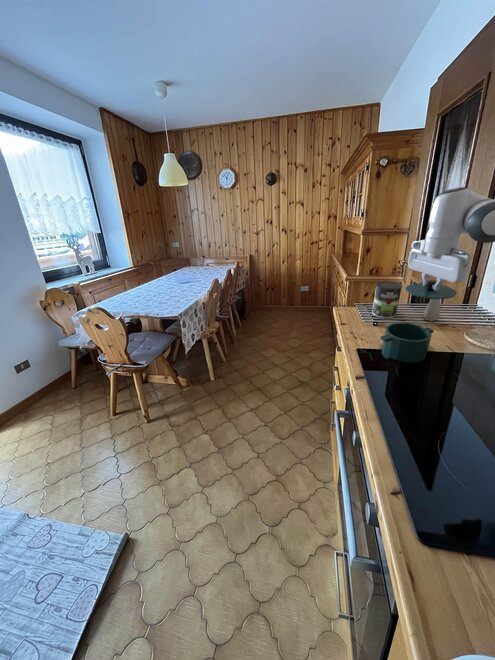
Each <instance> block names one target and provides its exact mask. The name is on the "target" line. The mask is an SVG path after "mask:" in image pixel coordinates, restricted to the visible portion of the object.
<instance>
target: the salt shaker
mask: <svg viewBox="0 0 495 660" xmlns="http://www.w3.org/2000/svg"><path fill="white" fill-rule="evenodd" d="M440 312H441V299H429V302H428V304H427V305H426V308H425V310H424V312H423V317H424V320H425V319H427V320H430V321H429V322H432V321H434V322H436V321H437V320H438V319H439V317H440V314H441V313H440ZM427 320H426V321H427ZM435 320H436V321H435Z"/></svg>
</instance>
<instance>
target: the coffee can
mask: <svg viewBox="0 0 495 660" xmlns="http://www.w3.org/2000/svg"><path fill="white" fill-rule="evenodd" d="M402 288H403V285H402V284H401V283H399V282H395V281H388V280H385V281H383V280H382V281H378V282H376V283H375V292H374V299H373V303H372V304H373V305H372V310H371V314H372V315H373V316H374V317H376V318H380V319H393V318H395V317H396V316H397V311H398V306H399V301H400V296H401V291H402Z"/></svg>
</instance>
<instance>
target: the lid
mask: <svg viewBox="0 0 495 660" xmlns="http://www.w3.org/2000/svg"><path fill="white" fill-rule="evenodd" d="M436 283H437V280H433V279H431V280H430V279H429V281H428V283H427V287H424V286H423V282H419V283H418V282H417V283H412V284H408V285H407V286H405V292H406V293H407V294H409V295H412V296H414V297H418V298H422V299H428V300H430V299H440V300H446V299H452V298H454V297H456V296H457V291H456V289H454V288H452V287H450V286H447V285H443V284H442V285H441V286H440V289H439V290H437V291H435V290H432V285H433V284H436Z"/></svg>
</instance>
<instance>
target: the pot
mask: <svg viewBox="0 0 495 660" xmlns="http://www.w3.org/2000/svg"><path fill="white" fill-rule="evenodd" d="M432 334H434V329H432V328H430V327H423V326H421V325H418V324H415V323H410V322H393V323H389V324H388V325H386V327H385V329H384V335H380V338H379V339H380V340H381V341H382V346H381V355H382V357H383V358H385V359H393V360H394V361H398V362H403V363H420V362H422V361H424V360H426V357H427V355H428V354H427V353H428V351H429V347H430V342H431V339H432Z"/></svg>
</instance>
